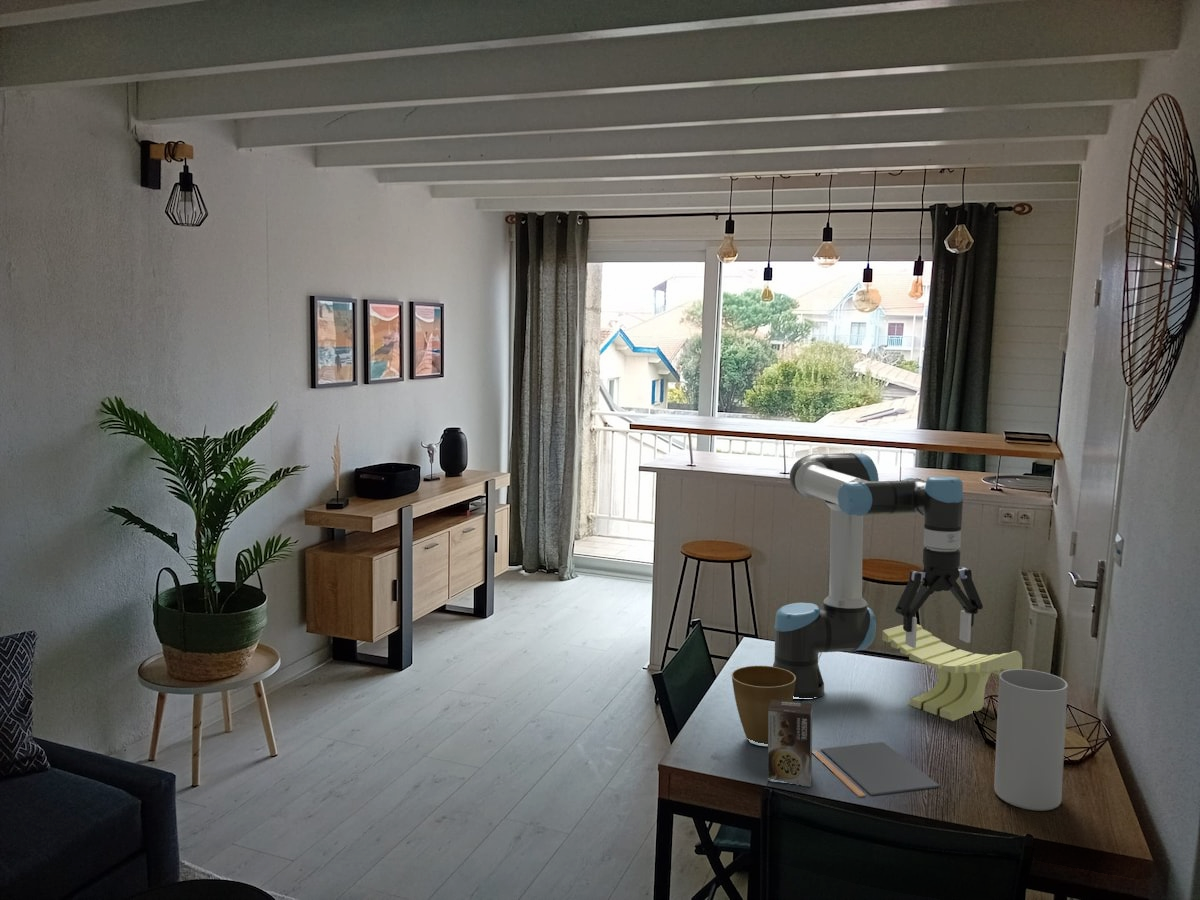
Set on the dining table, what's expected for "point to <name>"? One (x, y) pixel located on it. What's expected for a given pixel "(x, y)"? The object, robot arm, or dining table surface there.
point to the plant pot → (760, 696)
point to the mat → (879, 768)
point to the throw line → (839, 775)
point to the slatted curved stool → (951, 672)
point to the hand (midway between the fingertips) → (937, 643)
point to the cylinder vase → (1030, 739)
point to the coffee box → (790, 742)
